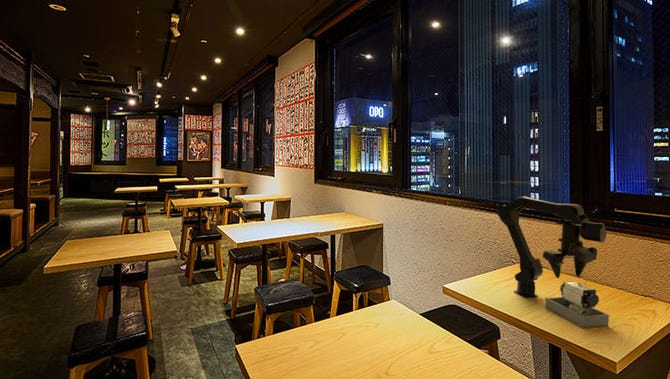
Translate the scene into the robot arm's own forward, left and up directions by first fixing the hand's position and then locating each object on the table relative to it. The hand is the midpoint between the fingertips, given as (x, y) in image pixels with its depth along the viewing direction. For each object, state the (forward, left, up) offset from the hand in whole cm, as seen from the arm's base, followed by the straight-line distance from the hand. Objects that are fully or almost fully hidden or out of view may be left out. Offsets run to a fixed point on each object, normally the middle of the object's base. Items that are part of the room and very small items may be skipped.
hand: (567, 277), depth 131 cm
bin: (+7, -4, -12) cm, 15 cm away
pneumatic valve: (+7, -3, -12) cm, 14 cm away
